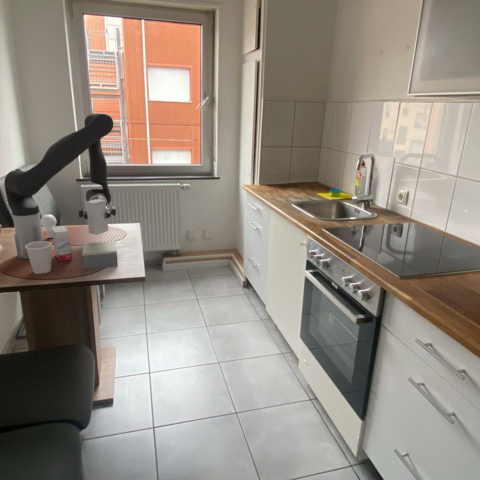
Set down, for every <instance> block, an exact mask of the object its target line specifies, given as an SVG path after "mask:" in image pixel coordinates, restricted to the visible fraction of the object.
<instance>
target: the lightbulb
mask: <svg viewBox="0 0 480 480" xmlns="http://www.w3.org/2000/svg"><path fill="white" fill-rule="evenodd" d="M40 219H41V226H42V227H43V228H44V229H45V232H46V236H47V238H48V239H53V232H52V228H53V227H56V225H57V219H56V217H55V216H54V215H53V214H49V213H48V214H47V213H46V214H44V215H42V216H41V217H40Z"/></svg>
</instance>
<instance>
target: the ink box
mask: <svg viewBox="0 0 480 480" xmlns="http://www.w3.org/2000/svg"><path fill="white" fill-rule="evenodd" d="M52 232H53V238H52V239H53V245H54V253H55V256H56V258H57V259H58V262H65V261H66V262H67V261H71V260H73V253H72V248H71V247H72V246H71V239H70V234H69V230H68V229H67V227H66V225H61V226H55V227H53V228H52Z"/></svg>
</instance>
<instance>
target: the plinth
mask: <svg viewBox="0 0 480 480" xmlns="http://www.w3.org/2000/svg"><path fill="white" fill-rule="evenodd" d="M81 253H82V254H81V258H82V267H83V270H88V269H89V268H90V269H98V268H99V269H101V268H110V267H111V268H112V267H118V264H119V263H118V262H119V261H118V251H117V240H116V241H115V240H113V241H112V240H111V241H101V242H100V241H98V242H86V243H83V246H82V252H81Z"/></svg>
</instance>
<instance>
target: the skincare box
mask: <svg viewBox="0 0 480 480" xmlns="http://www.w3.org/2000/svg"><path fill="white" fill-rule="evenodd" d="M85 209H86V210H87V219H86V220H87V228H88V233H89V234H90V235H91V234H92V235H95V236H96V235H97V236H98V235H100V234H103V233H106V232H109V224H108V223H109V221H108V218H107V211H106V201H105V200H101V199H95V200H91V201H87V200H86V201H85Z"/></svg>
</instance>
